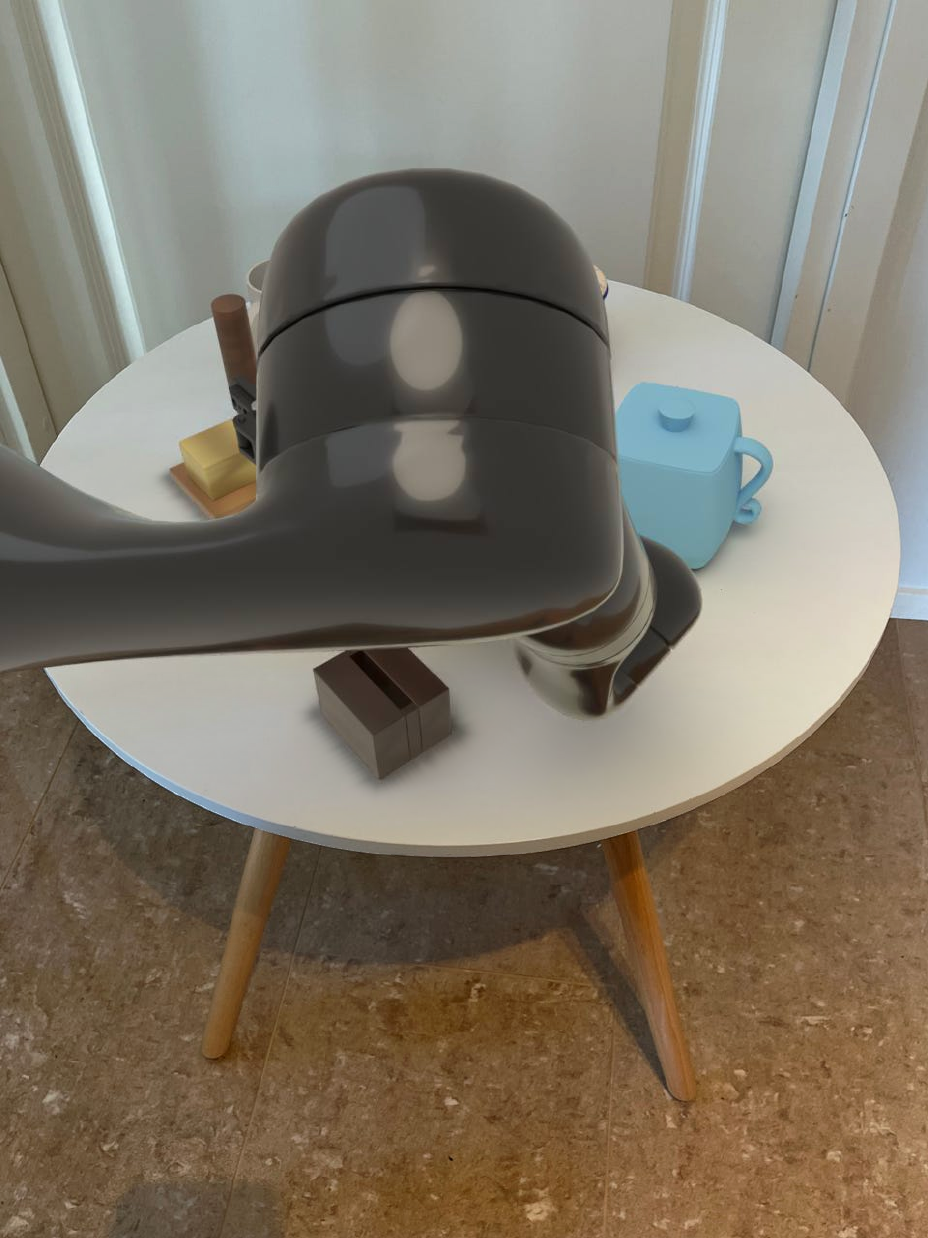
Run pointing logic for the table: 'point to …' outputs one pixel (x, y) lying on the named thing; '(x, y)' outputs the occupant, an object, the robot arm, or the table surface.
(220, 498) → the butter
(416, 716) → the knife holder
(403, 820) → the table surface
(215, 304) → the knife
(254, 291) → the cup
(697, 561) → the teapot
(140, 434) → the table surface
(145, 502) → the table surface
